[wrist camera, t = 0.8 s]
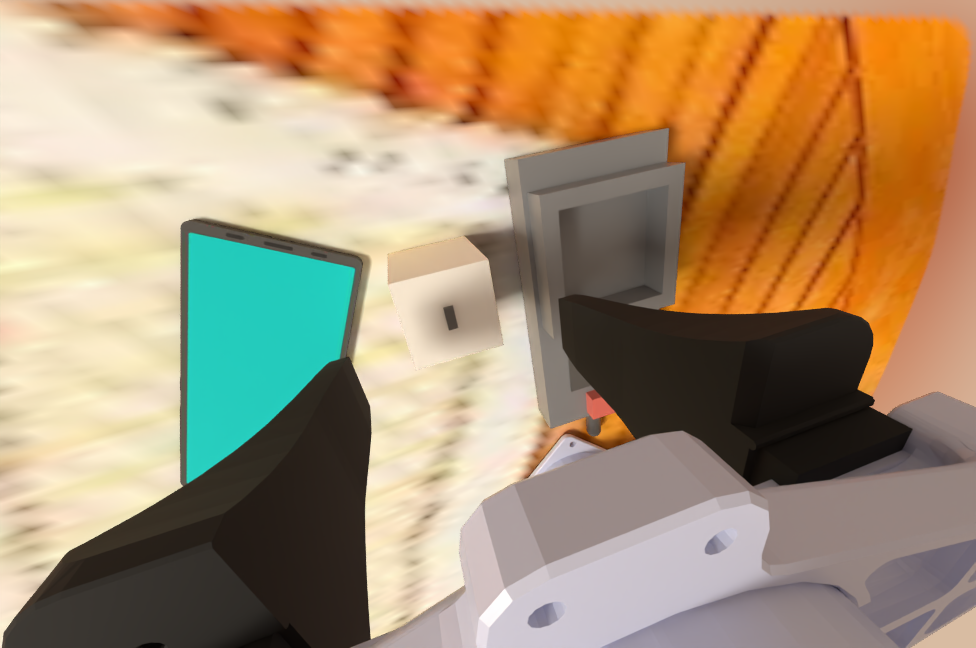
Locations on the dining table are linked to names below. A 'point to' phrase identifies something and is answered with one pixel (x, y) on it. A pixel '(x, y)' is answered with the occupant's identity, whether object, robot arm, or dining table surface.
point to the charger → (444, 301)
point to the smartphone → (253, 332)
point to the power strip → (592, 247)
